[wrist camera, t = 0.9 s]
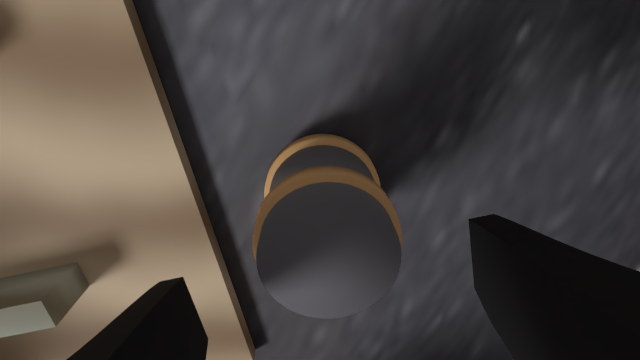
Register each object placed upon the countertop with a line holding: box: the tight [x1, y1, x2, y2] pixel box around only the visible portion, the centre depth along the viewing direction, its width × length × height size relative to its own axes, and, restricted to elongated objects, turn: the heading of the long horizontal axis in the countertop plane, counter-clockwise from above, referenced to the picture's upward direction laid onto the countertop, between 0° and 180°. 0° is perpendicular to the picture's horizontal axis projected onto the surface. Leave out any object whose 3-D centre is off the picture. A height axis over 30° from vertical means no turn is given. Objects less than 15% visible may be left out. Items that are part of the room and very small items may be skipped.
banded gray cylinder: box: [252, 134, 402, 319], centre depth 14 cm, size 4×4×6 cm
